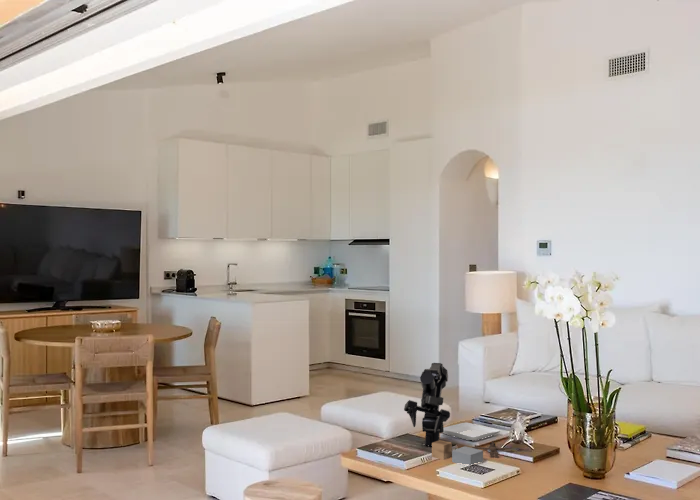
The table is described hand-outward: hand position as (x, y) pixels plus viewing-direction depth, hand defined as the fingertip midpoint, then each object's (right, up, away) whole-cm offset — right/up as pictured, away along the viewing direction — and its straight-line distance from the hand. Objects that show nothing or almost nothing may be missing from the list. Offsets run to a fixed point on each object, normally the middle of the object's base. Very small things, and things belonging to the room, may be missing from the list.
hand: (424, 429), depth 294 cm
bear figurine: (+30, -13, +10) cm, 35 cm away
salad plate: (+25, -13, +39) cm, 48 cm away
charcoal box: (+17, -13, -3) cm, 22 cm away
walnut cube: (+7, -12, +4) cm, 15 cm away
